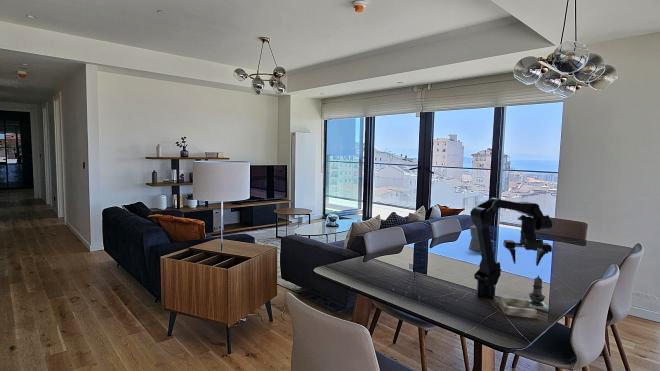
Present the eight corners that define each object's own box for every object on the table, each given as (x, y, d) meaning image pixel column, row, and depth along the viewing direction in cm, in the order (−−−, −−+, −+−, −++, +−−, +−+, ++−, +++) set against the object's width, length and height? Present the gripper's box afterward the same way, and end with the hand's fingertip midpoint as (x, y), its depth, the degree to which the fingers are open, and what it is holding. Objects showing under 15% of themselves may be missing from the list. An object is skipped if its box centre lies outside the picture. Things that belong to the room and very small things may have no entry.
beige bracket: (504, 314, 144) (504, 306, 144) (498, 303, 155) (498, 296, 155) (536, 318, 142) (537, 310, 141) (528, 306, 153) (528, 299, 152)
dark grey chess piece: (539, 301, 157) (541, 273, 156) (547, 306, 152) (550, 278, 151) (525, 300, 157) (527, 273, 156) (533, 306, 151) (535, 277, 150)
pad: (529, 307, 152) (529, 306, 152) (525, 301, 159) (525, 299, 159) (548, 309, 150) (548, 308, 150) (543, 303, 157) (543, 301, 157)
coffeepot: (475, 252, 240) (476, 224, 238) (463, 248, 248) (465, 221, 247) (491, 249, 247) (493, 223, 245) (479, 246, 255) (481, 220, 254)
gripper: (509, 232, 161) (506, 267, 162) (557, 235, 156) (554, 272, 158) (504, 227, 172) (501, 260, 173) (549, 230, 167) (546, 264, 168)
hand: (525, 264), depth 168 cm, fingers open, 9 cm apart
